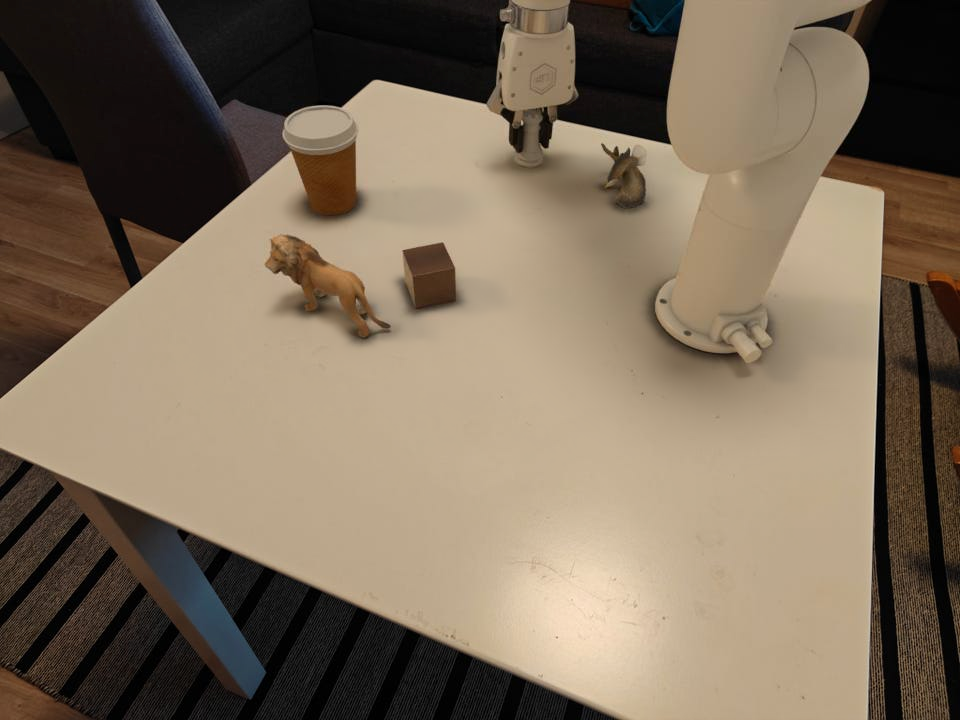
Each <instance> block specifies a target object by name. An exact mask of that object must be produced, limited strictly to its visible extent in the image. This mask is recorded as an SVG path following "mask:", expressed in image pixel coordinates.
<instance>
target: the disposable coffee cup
mask: <svg viewBox="0 0 960 720" xmlns="http://www.w3.org/2000/svg"><path fill="white" fill-rule="evenodd" d="M283 124H284V126H283V130H282V138H283V141H284V142H285V143H286V145H287V146H288V147H289V150H290V151H291V155H292V157H293V160H294V163H295V165H296V168H297V171H298V173H299V176H300V179H301V182H302V184H303V187H304V190H305V192H306V193H305V194H306V196H307V198H308V202H309V203H310V206H311V209H312V210H313V211H314V212H316V213H318V214H320V215H324V216H337V215H342V214H345V213H347V212H349V211H351V210H352V209H353V208H354V207H355V206H356V205H357V144H356V143H357V142H356V140H357V137H358V133H359V126H358V123H357V122H356V121H355V119H354V117H353V115H352V114H351V113H350V112H349V111H348V110H347V109H345V108H342V107H339V106H335V105H324V104H323V105H321V104H320V105H311V106H306V107H303V108H300V109H298V110H295V111H293V112H292V113H290V114H289V115H288V116H286V119H285V120H284V123H283Z"/></svg>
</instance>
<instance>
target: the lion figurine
mask: <svg viewBox="0 0 960 720" xmlns="http://www.w3.org/2000/svg"><path fill="white" fill-rule="evenodd" d="M269 241H270V249H271V250H270V251H269V257H268V259H267V260H266V261H265V262H264V267H265V268H266V269H269V271H271V273H272V274H273V275H277V274H280V273H282V275H283V276H287V277H289V278H290V279H291V281H292V282H293V283H294V284H297V285H298V286H300V287H301V290H302V292H303V295H304V296H305V298H306V299H307V301H308V302H306V303H305V304H304V309H305V311H306V312H312V311H313V312H314V311H315V310H316V309H317V308H318V301H317V299H316V297H315V295H316V296H317V297H319V298H322V297H324V296H326V295H327V296H331V297H338V300H339V303H340V305H341V306H342V308H343V311H344V312H345V313H346V314H347V316H348V317H349V318H350V319H351V320H352V321H353V322H355V323H356V324H357V326H358V327H359V328H358V330H357V334H358V337H360V338H362V339H363V338H366V337H368V336H369V335H370V329H369V325H368V324H367V322H366V320H365V319H364V318H363V317H362V316H361V315H364V314H366V313H367V315H368V316H369V318H370V320H371V321H372V322H374V323H375V324H376V325H377V326H379V327H380V328H382V330H383V329H384V330H385V329H386V330H388V329H390V328H391V325H390V323H388V322H385V321H382V320H380V319H378V318H377V317H376V316H375V314H374V313H373V311H372V308H371V306H370V304H369V302H368V299H367V297H366V295H365V291H366V287H365V285H364V283H363V281H362V280H361V278H360V277H358V275H356V273H354V272H353V271H350V270H346V269H342V268H340V267H338V266H336V265H334V264H332V263H330V262H328V261H327V260H325V259H323V258H322V256H320V253H319V252H318V250H317V249H316V248H315V247H313V246H312V244H310V243H307V242H306V241H305V240H302V239H300V238H299V237H297V236H295V235H291V234H282V233H281V234H278V235H277V236H274V237H272V238H269ZM357 302H358V303H359V305H358V306H356V305H357Z"/></svg>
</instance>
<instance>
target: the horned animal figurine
mask: <svg viewBox="0 0 960 720" xmlns="http://www.w3.org/2000/svg"><path fill="white" fill-rule="evenodd" d="M600 146H601V149H602V150H603V152H604V153H605V154H606V155H608V156H609V157H610V158H611V159H612V160H613V164H612V166H611V168H610V171H609V174H608V176H607V178H606V179H607V180H606V185H605V186H604V188H605V189H607V188H609V187H612V186H614V185H615V184H616V183H617V182H618V181H620V180H621V182H622V184H621V189H620V192H619V193H618V195H617V197H616V200H615V203H616V204H618V206H619V207H622V208H623V209H631V208H635V207H636V206H639V205H640V204H642V203H643V202H644V200H645V198H646V195H647V193H646V192H647V188H646V187H647V186H646V185H647V184H646V178H645V176H644V174H643V172H641V170H640V169H639V167H642V166H645V164H646V162H647V149H646V147H644V146H643V145H641V144H635V145H634V146H633V149H632V152H631V148H630V147H627V149H626V150H625V151H624V152H621V153H620V151H619V150H620V149H619V146H618V145H616V146H615V147H614V148H613V151H611V150H610V149H609V148H608V147H606V145H605V143H603V142H601V143H600Z"/></svg>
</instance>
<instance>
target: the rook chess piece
mask: <svg viewBox="0 0 960 720" xmlns="http://www.w3.org/2000/svg"><path fill="white" fill-rule="evenodd" d="M541 114H542V110H541V108H535V109H528V110H524V111H523V116H522V121H521V122H522V123H521V125H522V126H523V128H524V137H523V151H522V152H521V153H517V152H516V150H515V149H514V156H513V159H514V161H515V163H516V164H517V165H518V166H520V167H521V168H527V169H533V168H536V167H539V166H540V165H541V164H542V163H543V161H544V150H543V147H542V146H541V144H540V143H539V130H540V128H541V127H540V125H539V123H540V122H541V121H542V119H543V116H542V115H541Z"/></svg>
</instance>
